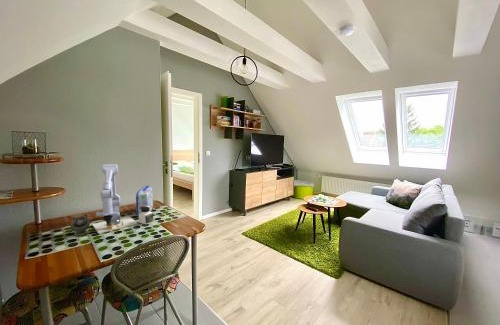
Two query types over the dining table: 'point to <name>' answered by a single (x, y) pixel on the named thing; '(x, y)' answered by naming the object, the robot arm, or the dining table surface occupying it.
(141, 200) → the lunch box
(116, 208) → the robot arm
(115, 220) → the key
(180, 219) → the dining table surface
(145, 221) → the medicine bottle
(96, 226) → the board
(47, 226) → the dining table surface
